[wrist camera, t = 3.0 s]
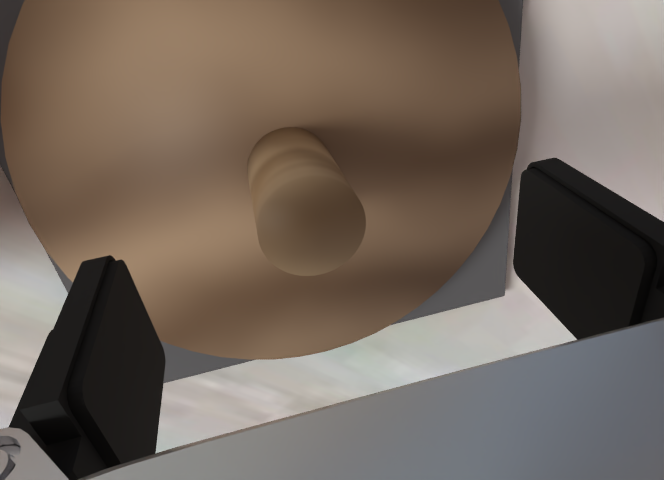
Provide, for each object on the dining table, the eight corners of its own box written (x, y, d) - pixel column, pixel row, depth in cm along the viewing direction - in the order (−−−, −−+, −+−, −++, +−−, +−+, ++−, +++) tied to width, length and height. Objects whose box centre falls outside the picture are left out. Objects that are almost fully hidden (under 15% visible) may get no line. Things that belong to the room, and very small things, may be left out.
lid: (496, 290, 25) (571, 375, 20) (128, 383, 23) (103, 507, 18) (519, -179, 15) (679, -257, 10) (-115, -93, 13) (-331, -133, 8)
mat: (499, 290, 26) (504, 295, 25) (123, 386, 24) (121, 394, 23) (526, -196, 16) (535, -201, 15) (-135, -110, 13) (-146, -113, 13)
